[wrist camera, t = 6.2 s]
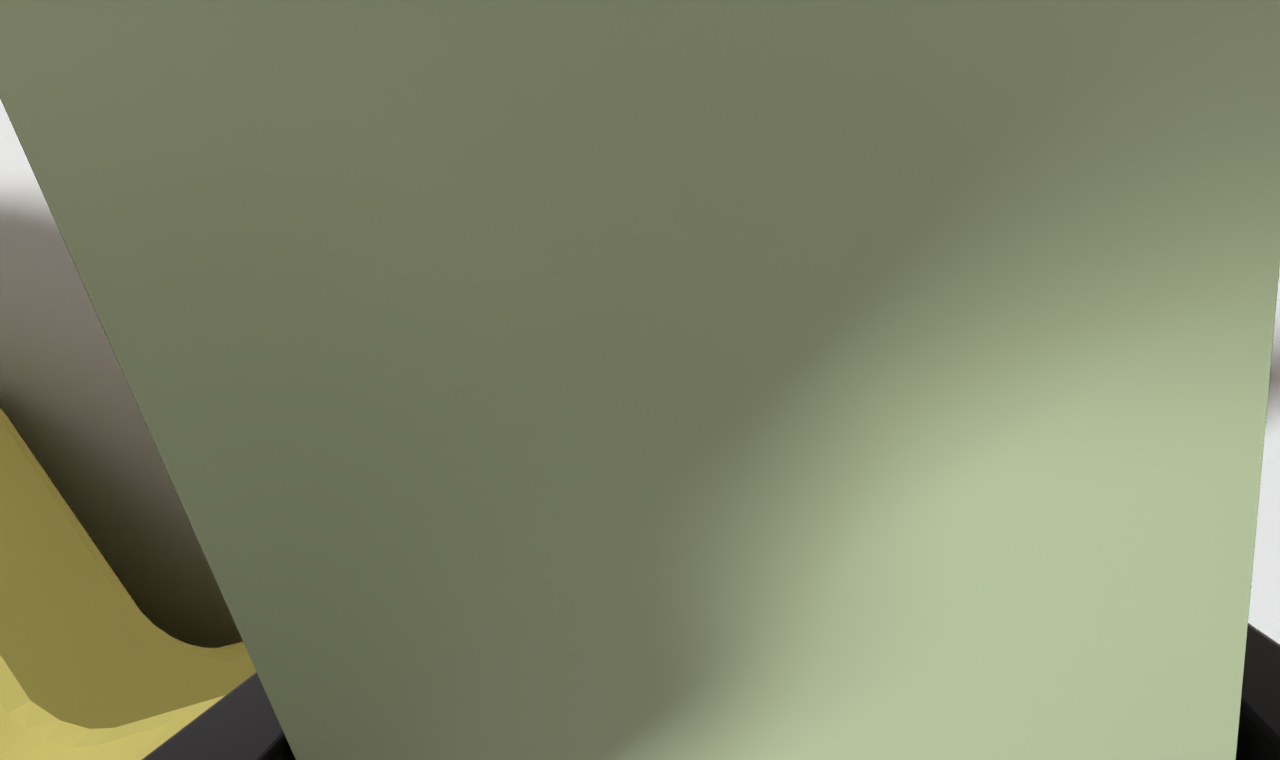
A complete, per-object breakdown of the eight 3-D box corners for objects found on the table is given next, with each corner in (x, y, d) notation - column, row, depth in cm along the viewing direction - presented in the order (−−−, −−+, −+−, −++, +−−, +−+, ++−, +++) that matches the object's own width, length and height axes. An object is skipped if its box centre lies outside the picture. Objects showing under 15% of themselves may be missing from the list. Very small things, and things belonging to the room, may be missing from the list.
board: (1080, -232, 7) (1326, -273, 4) (1080, 932, 12) (1187, 1296, 9) (259, -65, 8) (-42, 5, 5) (580, 947, 13) (530, 1283, 10)
